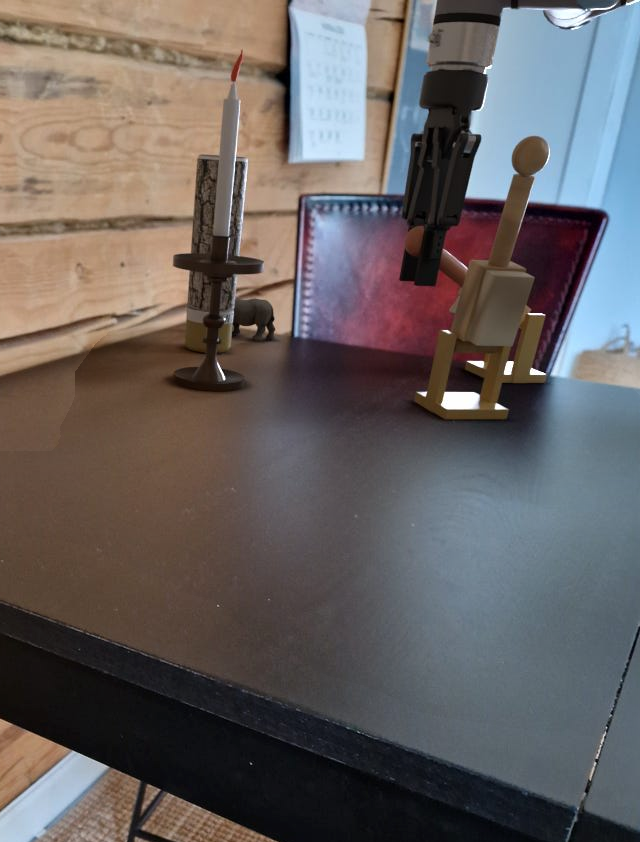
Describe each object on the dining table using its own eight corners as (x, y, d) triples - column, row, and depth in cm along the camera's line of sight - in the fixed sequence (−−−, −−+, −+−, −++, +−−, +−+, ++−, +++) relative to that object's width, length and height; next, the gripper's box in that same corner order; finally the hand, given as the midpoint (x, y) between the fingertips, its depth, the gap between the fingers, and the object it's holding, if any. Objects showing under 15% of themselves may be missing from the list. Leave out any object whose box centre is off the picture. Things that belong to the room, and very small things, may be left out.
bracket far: (494, 382, 118) (511, 314, 113) (464, 369, 125) (479, 303, 120) (545, 383, 119) (564, 315, 115) (513, 369, 126) (529, 305, 122)
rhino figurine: (196, 328, 141) (199, 289, 138) (276, 339, 137) (281, 299, 134) (187, 332, 138) (190, 292, 135) (269, 343, 133) (274, 302, 130)
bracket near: (507, 419, 101) (527, 340, 96) (444, 419, 99) (462, 338, 95) (472, 401, 108) (490, 326, 103) (412, 401, 106) (428, 325, 101)
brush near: (582, 143, 84) (550, 135, 89) (533, 139, 83) (503, 131, 88) (509, 364, 98) (484, 348, 102) (467, 364, 96) (443, 347, 101)
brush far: (399, 265, 108) (427, 221, 106) (381, 259, 113) (408, 218, 111) (513, 354, 118) (541, 315, 116) (492, 345, 122) (519, 308, 120)
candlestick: (266, 383, 110) (305, 55, 92) (221, 397, 102) (254, 42, 85) (196, 368, 115) (220, 55, 98) (148, 380, 107) (165, 43, 90)
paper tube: (181, 351, 124) (194, 154, 112) (187, 343, 130) (200, 154, 117) (227, 356, 123) (246, 157, 111) (232, 347, 129) (250, 157, 117)
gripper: (397, 72, 107) (364, 273, 119) (464, 63, 93) (420, 292, 105) (451, 77, 109) (414, 275, 121) (525, 68, 95) (475, 293, 107)
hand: (416, 282), depth 113 cm, fingers closed on brush far, 4 cm apart
